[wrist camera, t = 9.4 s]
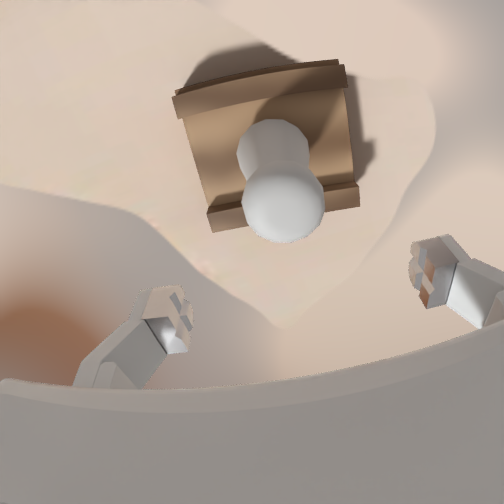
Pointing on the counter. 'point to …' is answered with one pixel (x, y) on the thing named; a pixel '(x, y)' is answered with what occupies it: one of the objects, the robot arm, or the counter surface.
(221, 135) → the display stand
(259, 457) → the robot arm
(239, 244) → the counter surface
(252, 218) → the salt shaker
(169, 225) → the counter surface
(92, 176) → the counter surface
